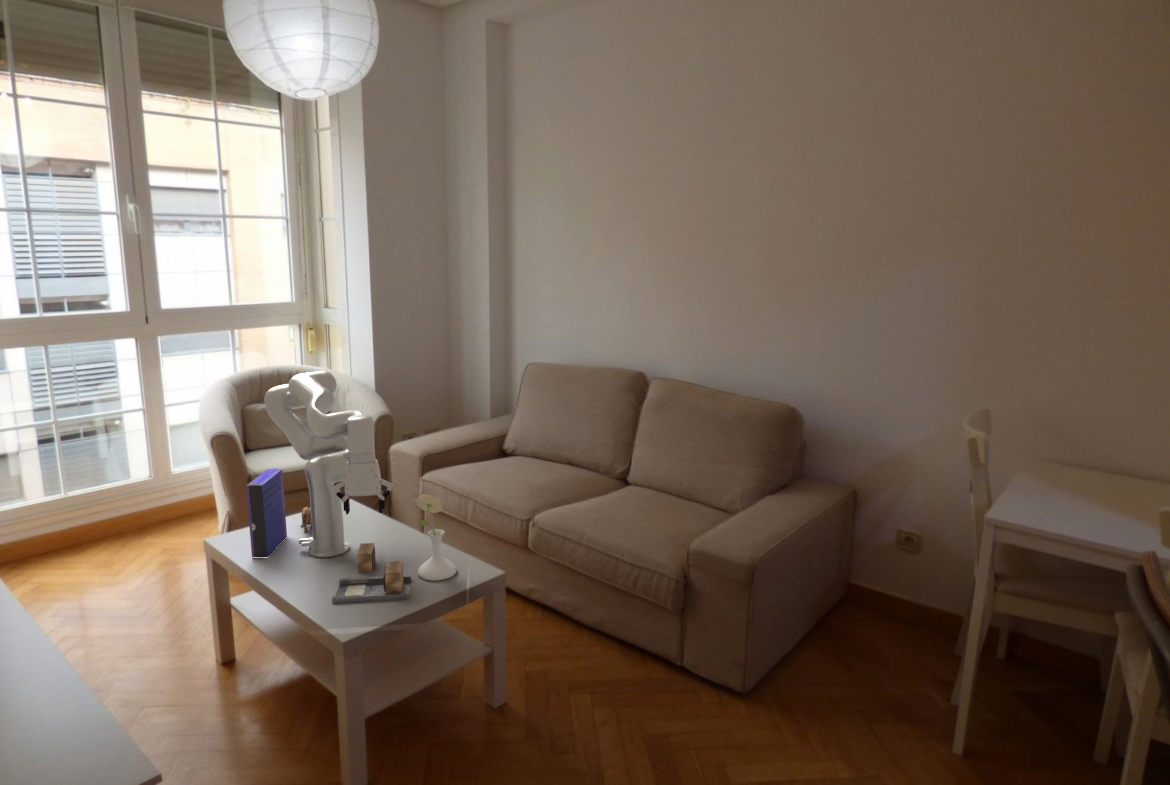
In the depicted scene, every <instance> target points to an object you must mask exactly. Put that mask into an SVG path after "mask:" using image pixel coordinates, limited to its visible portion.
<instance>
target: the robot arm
mask: <svg viewBox="0 0 1170 785" xmlns="http://www.w3.org/2000/svg"><path fill="white" fill-rule="evenodd" d="M337 386H338V385H337V380H336V378H335V376H334V375H333V374H332V373H331V372H330V371H327V370H316V371H308V372H301V373H298V374H295V375H293V376H292V377H291V378H290V379H289V381H288V383H285V384H280V385H276V386H273V387H271V388H269V389H268V390H267V391H266V392H265V394H264V405H265V406H264V407H265V409H266V412H267V414H268V416H269V418H270V419H271V421H272V422H273V423H274V424H275V425H276V426H277V427H278V428H279V429H280V430H281V431H282V432H283V433H284V435H285V436H286V438H287V440H288V442H289V443H290V444H291V447H292V448H293V449H294V451H295V453H296V454H297V455H298V457H300V459H302V460H304V461H306V463H305V465H304V473H305V479H306V482H307V487H308V492H309V501H310V504H309V505H310V508H311V519H312V530H311V532H312V536H310V537H309V538H304V537H303V538H301V537H300V538H299V539H298V545H301V547H303V548H304V547H308V550H307V551H308V553H309V554H308V555H310V556H312V557H316V558H331V557H337V556H340V555H343V554H344V553H347V552H348V551H349V550H350V548H351V547H350V546H351V545H350V542H349V541H347V540H345V530H344V529H345V528H344V527H345V526H344V514H343V512H345V515H349V514H350V512H351V507H350V506H351V505H350V498H349V497H368V496H370V497H371V496H372V497H373V496H377V497H378V498H379V500H378V510H379V511H378V512H379V513H380V514H382V513H383V511H384V510H385V509H386V500H385V499H386V498H387V497H388V496H389V495H390V493H391V491H392V490H393V488H394V483H392V482H390V481H388V480H385V479H384V478H381V470H380V465H379V461H378V459H377V458H376V450H375V427H374V426H375V424H374V419H373V417H372V416H371V415H368V414H364V413H363V412H362V411H360V410H358V409H350V410H349V409H348V410H343V411H342V410H341V411H338V412H337V411H336V412H330V413H329V411H331V409H332V408H333V407H334V405H335V396H334V394H335V392H336V391H337ZM302 408H303V409H304V408H306V416H304V415H303V414H301V413H300V412H297V411H295V410H297V409H302ZM334 484H335V485H334ZM382 486H385V487H386V490H384V491H383V490H382ZM342 487H344V493H343V492H342V491H341V488H342Z"/></svg>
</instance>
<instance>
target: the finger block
mask: <svg viewBox="0 0 1170 785" xmlns="http://www.w3.org/2000/svg"><path fill="white" fill-rule="evenodd" d="M376 560H377V559H376V547H375V542H371V543H370V542H367V543H360V545H359V548H358V550H357V553H356V561H357V564H356V565H357V573H358V574H363V573H366V574H367V573H372V572H373V571H374V570H375V566H376V563H377V561H376Z"/></svg>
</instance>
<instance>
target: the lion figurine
mask: <svg viewBox="0 0 1170 785" xmlns="http://www.w3.org/2000/svg"><path fill="white" fill-rule="evenodd" d="M307 526H310V530H311V531H312V519H311V507H308V506H305V507H304V508H302V510H301V525H300V527H301V528H303V533H304V534H308V533H309V532H308V527H307Z"/></svg>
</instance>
